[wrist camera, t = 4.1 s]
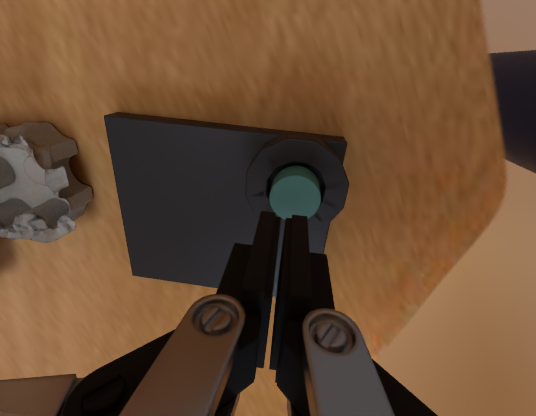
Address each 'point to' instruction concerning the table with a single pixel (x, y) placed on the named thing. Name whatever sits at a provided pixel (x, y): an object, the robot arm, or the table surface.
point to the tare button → (295, 192)
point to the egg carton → (38, 183)
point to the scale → (210, 190)
